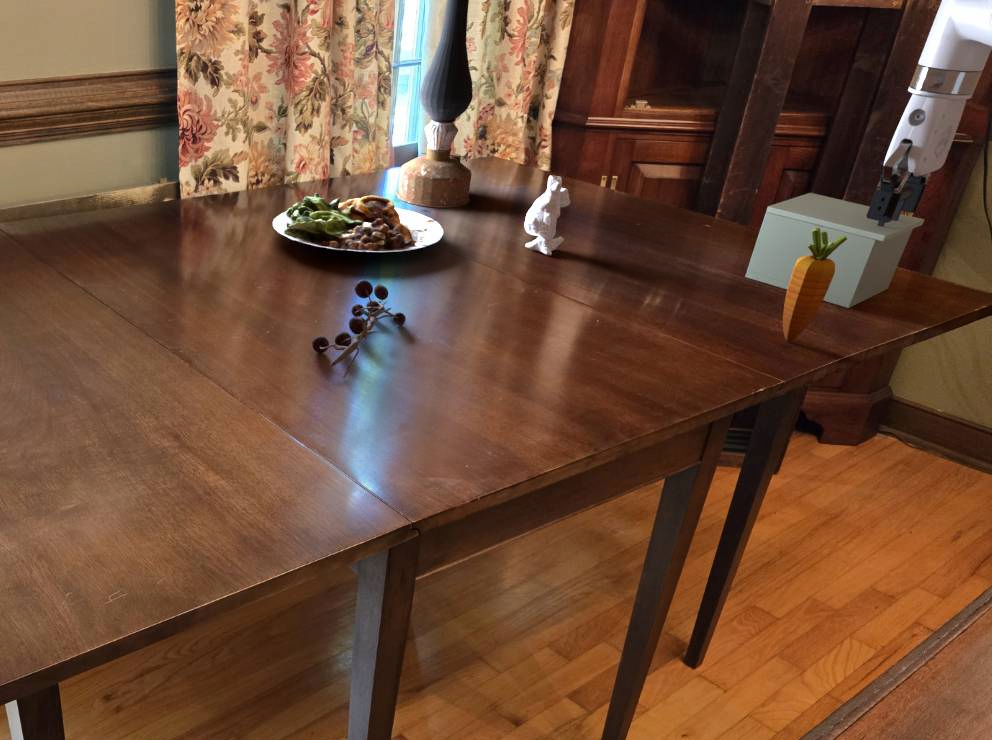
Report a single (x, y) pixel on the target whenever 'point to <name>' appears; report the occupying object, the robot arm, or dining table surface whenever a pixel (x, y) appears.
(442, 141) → the oil lamp
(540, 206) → the white kangaroo figurine
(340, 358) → the decorative branch
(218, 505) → the dining table surface
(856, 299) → the grey-green storage box
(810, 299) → the carrot
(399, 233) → the plate of food
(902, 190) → the box lid
